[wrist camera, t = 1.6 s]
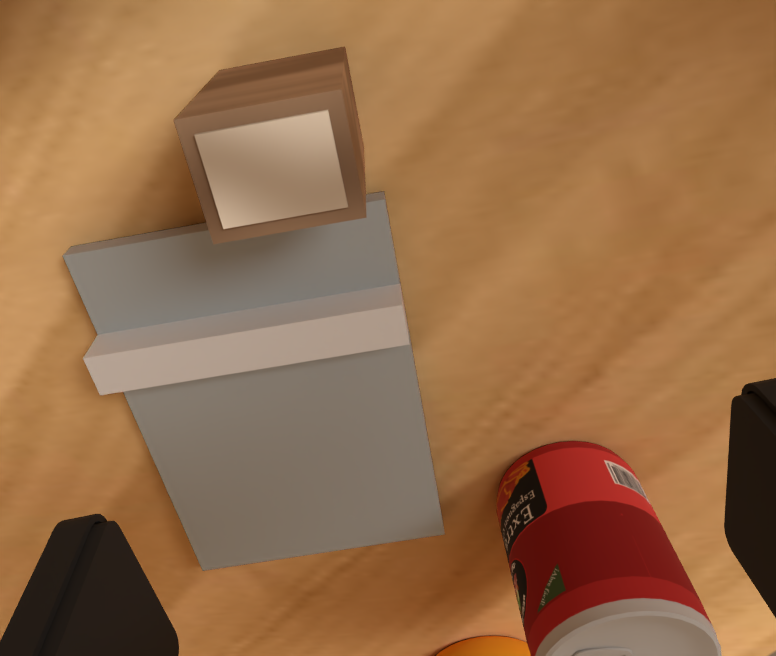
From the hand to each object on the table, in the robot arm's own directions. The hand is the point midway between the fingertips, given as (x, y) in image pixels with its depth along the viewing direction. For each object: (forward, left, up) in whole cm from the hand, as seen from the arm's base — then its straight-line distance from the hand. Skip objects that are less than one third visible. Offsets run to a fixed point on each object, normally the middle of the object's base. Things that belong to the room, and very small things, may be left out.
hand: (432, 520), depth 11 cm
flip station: (+12, -7, -21) cm, 25 cm away
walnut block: (-2, -3, -21) cm, 22 cm away
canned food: (+21, +7, -21) cm, 31 cm away
